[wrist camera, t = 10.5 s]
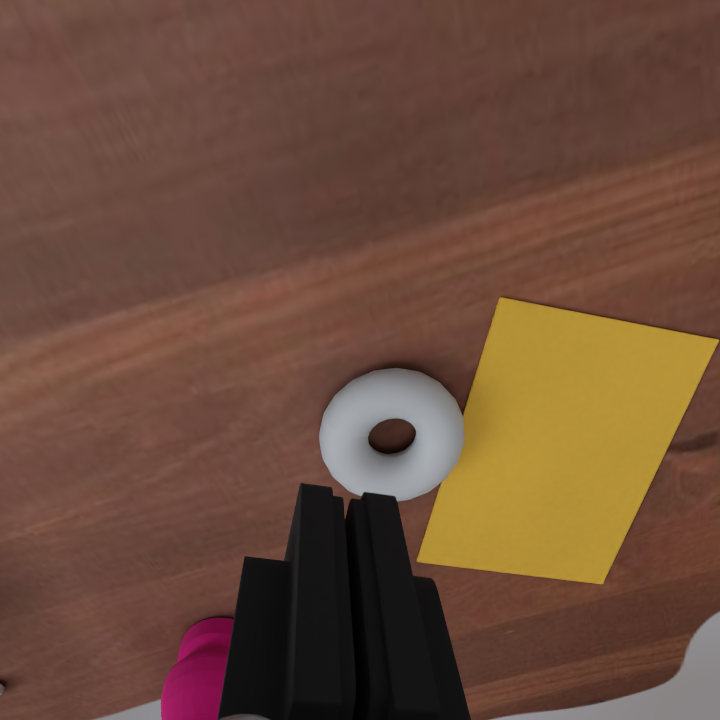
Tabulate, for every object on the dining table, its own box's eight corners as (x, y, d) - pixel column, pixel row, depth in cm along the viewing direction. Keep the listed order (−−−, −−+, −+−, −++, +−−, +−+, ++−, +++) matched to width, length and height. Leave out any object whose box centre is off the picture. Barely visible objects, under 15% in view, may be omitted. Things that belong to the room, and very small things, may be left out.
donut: (449, 482, 43) (467, 361, 39) (460, 512, 40) (480, 383, 36) (316, 481, 42) (320, 357, 38) (316, 512, 39) (321, 380, 35)
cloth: (499, 296, 37) (500, 297, 37) (717, 338, 39) (719, 340, 39) (416, 560, 45) (416, 562, 45) (601, 582, 47) (602, 584, 47)
